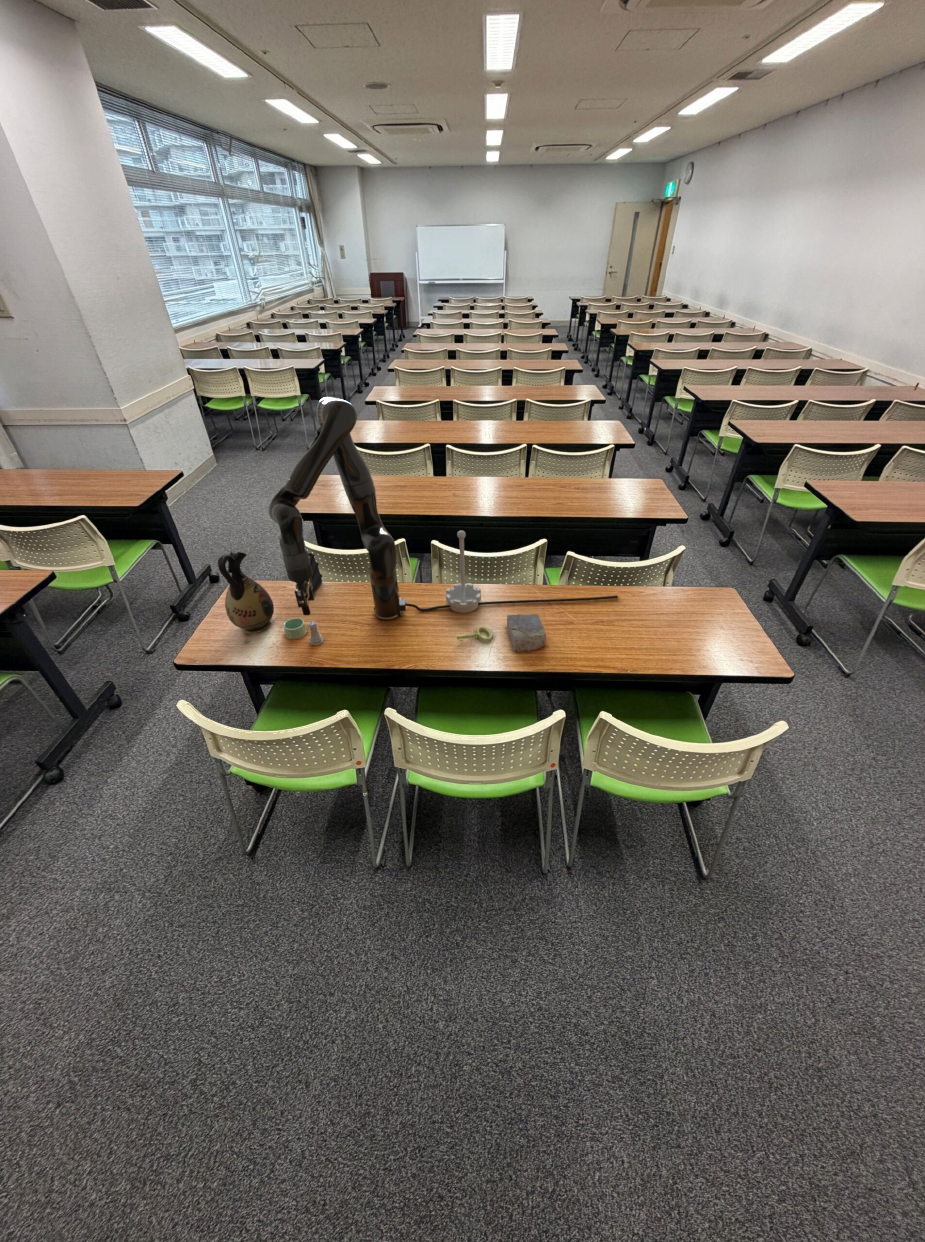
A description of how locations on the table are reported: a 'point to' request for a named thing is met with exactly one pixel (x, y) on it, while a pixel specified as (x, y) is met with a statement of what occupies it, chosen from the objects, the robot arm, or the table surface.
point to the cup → (294, 628)
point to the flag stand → (463, 587)
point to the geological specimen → (526, 632)
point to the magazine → (315, 573)
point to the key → (477, 635)
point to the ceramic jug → (245, 597)
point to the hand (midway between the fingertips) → (309, 607)
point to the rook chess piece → (315, 634)
